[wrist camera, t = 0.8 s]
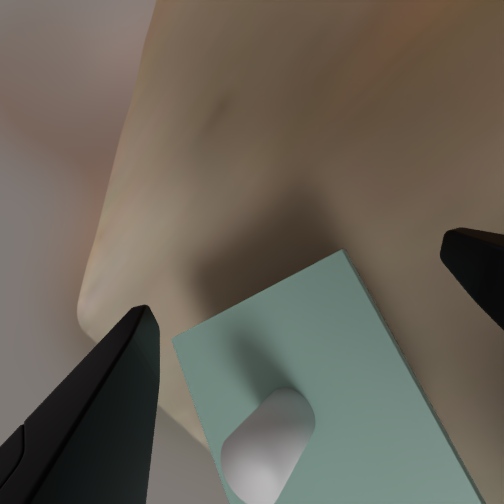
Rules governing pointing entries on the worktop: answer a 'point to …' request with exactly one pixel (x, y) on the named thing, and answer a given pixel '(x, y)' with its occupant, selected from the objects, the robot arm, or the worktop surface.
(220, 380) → the lid
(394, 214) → the worktop surface
